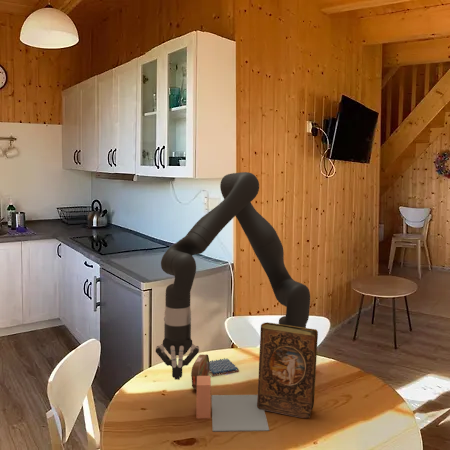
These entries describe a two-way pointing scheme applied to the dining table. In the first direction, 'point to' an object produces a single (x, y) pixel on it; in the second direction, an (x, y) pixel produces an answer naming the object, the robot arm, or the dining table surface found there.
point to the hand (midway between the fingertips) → (177, 378)
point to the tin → (200, 369)
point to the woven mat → (222, 367)
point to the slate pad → (237, 413)
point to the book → (287, 369)
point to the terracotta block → (203, 396)
